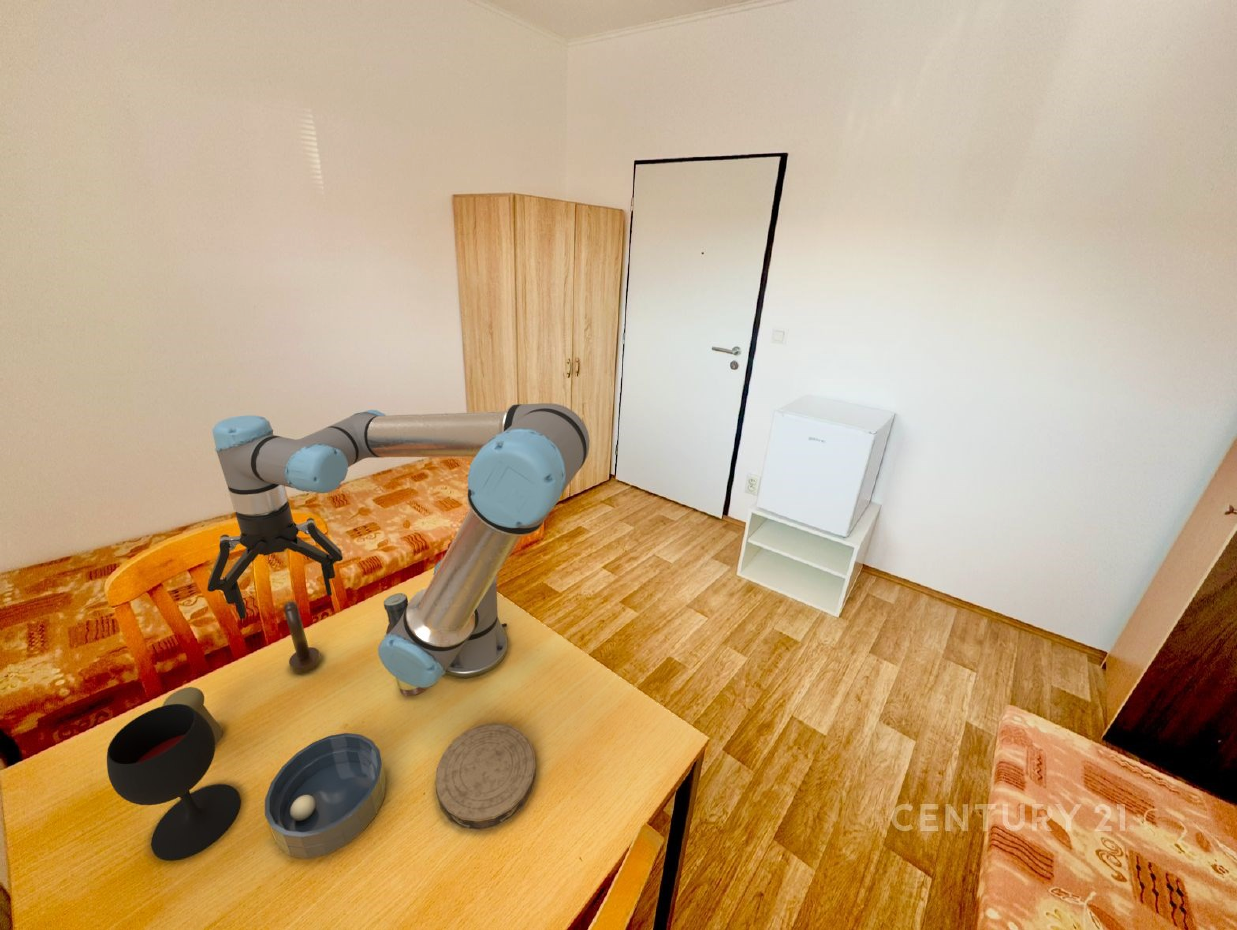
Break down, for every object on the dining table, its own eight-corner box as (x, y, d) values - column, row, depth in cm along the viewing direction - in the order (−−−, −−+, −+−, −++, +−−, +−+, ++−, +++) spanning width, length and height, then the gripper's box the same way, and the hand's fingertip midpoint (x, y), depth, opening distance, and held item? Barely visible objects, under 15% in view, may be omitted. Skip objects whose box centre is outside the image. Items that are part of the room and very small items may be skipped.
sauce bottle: (424, 698, 93) (401, 611, 86) (393, 698, 93) (368, 611, 86) (438, 672, 99) (418, 589, 92) (409, 673, 99) (386, 590, 93)
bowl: (377, 741, 86) (373, 718, 83) (394, 823, 74) (389, 799, 72) (273, 785, 78) (265, 761, 75) (274, 884, 66) (264, 860, 64)
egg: (316, 798, 76) (312, 786, 74) (317, 818, 74) (313, 805, 72) (292, 809, 74) (287, 797, 73) (292, 829, 72) (288, 817, 70)
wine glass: (228, 771, 79) (191, 685, 70) (251, 818, 73) (214, 730, 65) (143, 823, 72) (90, 734, 63) (161, 880, 66) (105, 790, 57)
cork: (197, 762, 80) (176, 717, 75) (167, 753, 81) (144, 708, 76) (231, 729, 85) (213, 685, 81) (202, 721, 86) (183, 677, 82)
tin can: (487, 854, 72) (486, 842, 70) (415, 791, 79) (413, 779, 77) (554, 765, 84) (554, 754, 83) (487, 718, 91) (486, 707, 90)
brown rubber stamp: (320, 650, 102) (304, 590, 95) (322, 668, 98) (306, 606, 91) (290, 660, 99) (272, 598, 92) (291, 678, 95) (272, 616, 89)
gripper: (342, 482, 92) (358, 572, 101) (168, 510, 79) (205, 611, 88) (347, 501, 86) (364, 594, 95) (161, 534, 73) (201, 639, 82)
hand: (287, 602), depth 92 cm, fingers open, 13 cm apart
